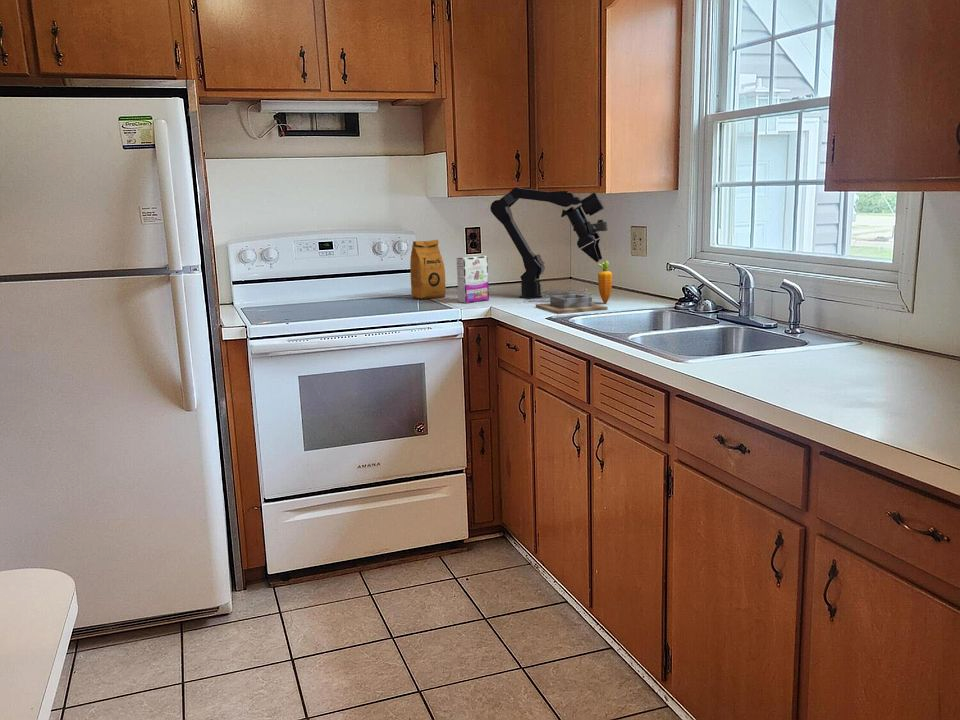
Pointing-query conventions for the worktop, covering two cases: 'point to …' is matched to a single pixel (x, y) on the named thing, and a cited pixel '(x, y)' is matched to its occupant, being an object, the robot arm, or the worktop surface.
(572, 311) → the socket base
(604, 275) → the carrot
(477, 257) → the candy bar box
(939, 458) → the worktop surface
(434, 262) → the coffee package
